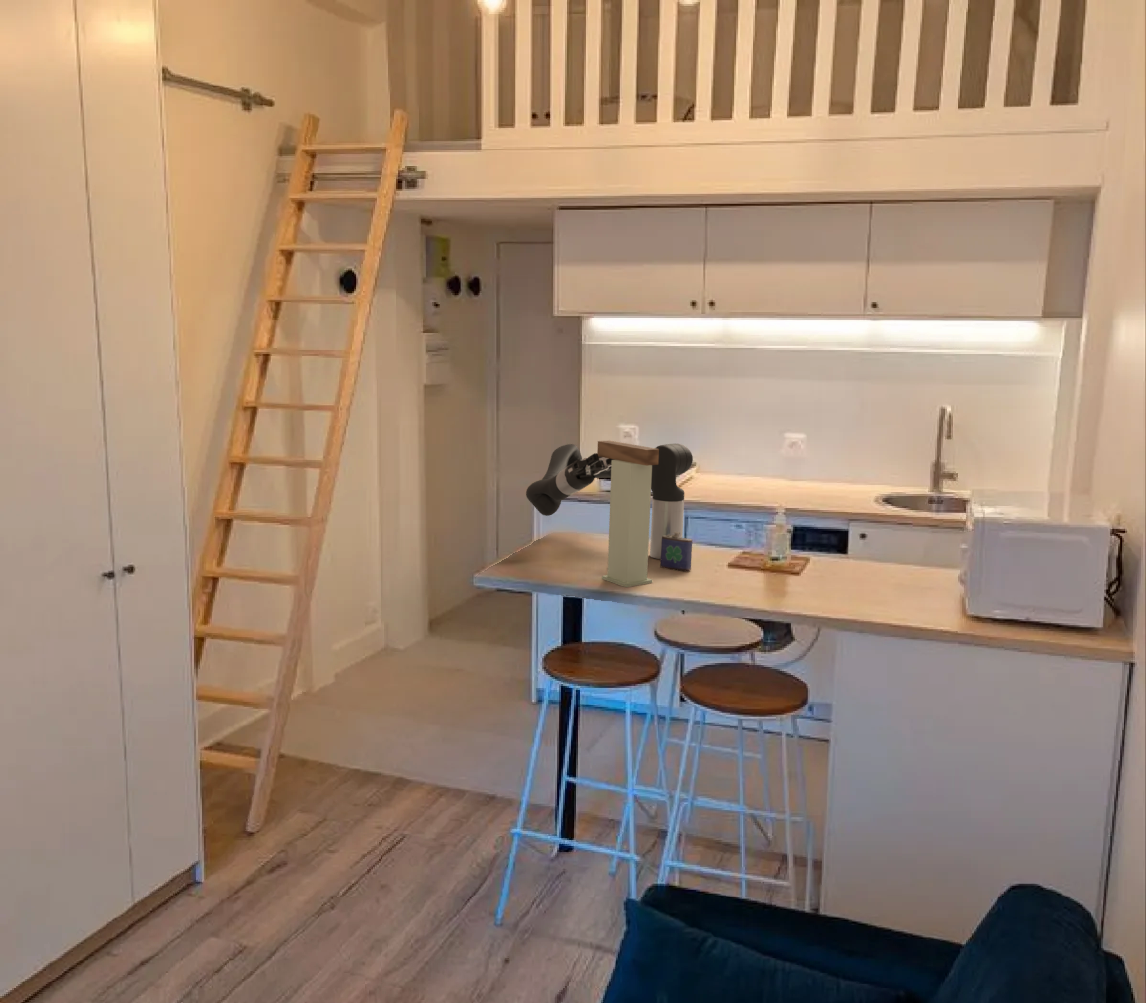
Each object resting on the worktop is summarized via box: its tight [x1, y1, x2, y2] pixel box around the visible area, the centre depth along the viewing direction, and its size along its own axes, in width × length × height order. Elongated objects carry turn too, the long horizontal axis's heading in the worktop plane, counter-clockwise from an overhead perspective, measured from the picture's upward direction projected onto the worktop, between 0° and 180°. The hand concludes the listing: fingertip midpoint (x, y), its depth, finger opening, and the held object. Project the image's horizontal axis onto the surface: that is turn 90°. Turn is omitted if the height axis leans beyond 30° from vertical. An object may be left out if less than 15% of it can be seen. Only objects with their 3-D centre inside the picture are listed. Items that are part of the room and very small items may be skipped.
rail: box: [597, 440, 659, 466], centre depth 265 cm, size 4×20×4 cm, turn 37°
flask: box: [659, 532, 693, 572], centre depth 283 cm, size 9×3×11 cm, turn 60°
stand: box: [601, 460, 653, 588], centre depth 266 cm, size 9×10×32 cm
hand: (609, 455), depth 271 cm, fingers open, 8 cm apart
